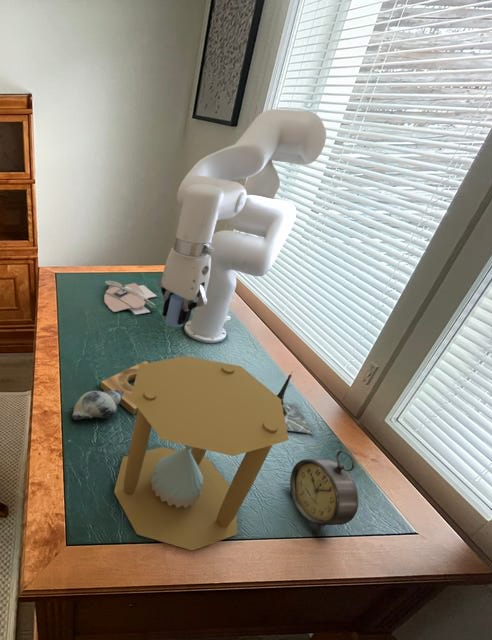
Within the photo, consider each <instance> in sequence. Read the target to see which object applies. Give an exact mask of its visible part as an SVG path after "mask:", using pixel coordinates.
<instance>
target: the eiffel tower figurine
mask: <svg viewBox="0 0 492 640" xmlns="http://www.w3.org/2000/svg"><path fill="white" fill-rule="evenodd" d="M292 373H293V372H291V373H289V374H288V375H287V378H286V380H285V382H284V384H283V385H282V387H281V389H280V391H279V392H278V393H277V394H276V396H277V397H279V398H280V399H281V403H282V408H283V413H284V418H285V423H286V428H287V432H288V431H289V432H298V433H304V434H314V432H313V431H312V429H311V427H310V425H309V424H308V422H307V420H306V418H305V417H304V415H303V413H302V411H301V410H300V408H299V406H298V404H297V403H292V402H291V403H289V402H284V399H285V393H286V390H287V388H288V385H289V382H290V380H291V378H292V376H293V375H292Z"/></svg>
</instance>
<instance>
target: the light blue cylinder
mask: <svg viewBox="0 0 492 640" xmlns="http://www.w3.org/2000/svg"><path fill="white" fill-rule="evenodd" d="M183 305H184V298H183V297H181V296H179V295H177V294H173V295H171V298H170V302H169V307H168V311H167V316H165V321H164V322H165V324H166V325H167V326H169V327H171V328H180V327H182V326H183V324H182V325H179V324H178V319H179V315H180V311H181V310H182V309H183Z"/></svg>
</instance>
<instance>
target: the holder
mask: <svg viewBox="0 0 492 640" xmlns="http://www.w3.org/2000/svg"><path fill="white" fill-rule="evenodd" d="M146 363H149V362H148V361H147V360H144V361H142V362H139V363H138V364H136V365H133V366H131V367H129V368H126V369H124V370H122V371H120V372H118V373H116V374H114V375H112V376H110V377H108V378H105V379H103V380H102V381H100V389H102V390H103V392H104V391H108V390H109V391H114V390H118V391H119V390H123V391H124V393H123V396H122V398H121V401H120V403H119V404H120V405H121V406H122V407H123V408H125V409H126V410H127V411H128V412H129V413H131V414H132V415H133V416H134V415H137V413H138V407H137V406H136V405H135V403H134V402H133V401H132V399H131V398H130V396H131V393H132V389H133V386H134V385H131V384H130V383H129V382H130V381H135V379H136V375H137V372H138V368H139V365H141V364H146Z"/></svg>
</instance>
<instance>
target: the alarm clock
mask: <svg viewBox="0 0 492 640" xmlns="http://www.w3.org/2000/svg"><path fill="white" fill-rule="evenodd" d="M341 453H345V454H346V455H347V456H348V457H349V459H350V461H351V467H350V468H349V469H346V468H345V465H344V464H343V463H341V462H340V460H339V456H340V454H341ZM354 468H355V460H354V458H353V455H351V453H350V452H348V451H347V450H345V449H342V450H339V451H337V452H336V461H333V460H331V459H326V458H314V459H313V458H312V459H311V458H310V459H309V458H305V459H301V460H300V461H298V462H297V463H296V464H295V465H294V466H293V468H292V470H291V473H290V479H289V484H290V485H289V486H290V490H289V494H291V497H292V500H293V503H294V504H295V507H296V508H297V510H298V511H299V513H300V514H301V515H302V516H303V517H304V518H305V519H306V520H307V521H308V522H309V523H311V524H313V525H314V526H315V525H316V530H317V532H316V535H317V536H318V537H320V536H322V528H323V527H324V526H342V525H346V524H348V523H349V522H351V521H352V520H353V519H354V518H355V517H356V515H357V512H358V510H359V509H358V508H359V493H358V489H357V486H356V483H355V482H354V479H353V478H352V476H351V475H350V473H349V472H351V471H353V470H354Z"/></svg>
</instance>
